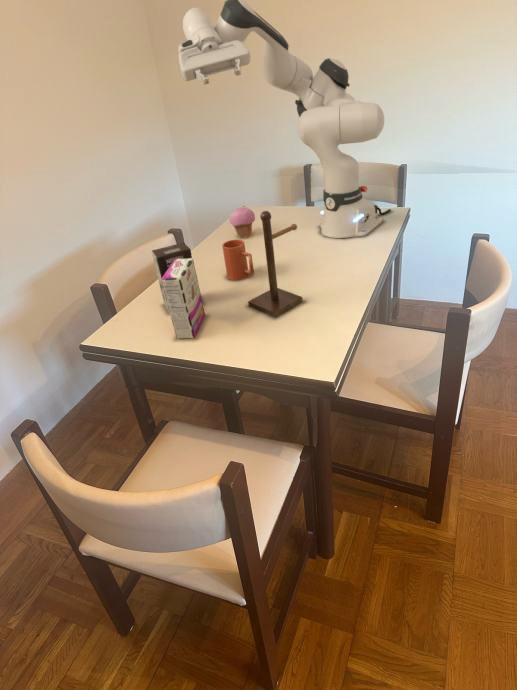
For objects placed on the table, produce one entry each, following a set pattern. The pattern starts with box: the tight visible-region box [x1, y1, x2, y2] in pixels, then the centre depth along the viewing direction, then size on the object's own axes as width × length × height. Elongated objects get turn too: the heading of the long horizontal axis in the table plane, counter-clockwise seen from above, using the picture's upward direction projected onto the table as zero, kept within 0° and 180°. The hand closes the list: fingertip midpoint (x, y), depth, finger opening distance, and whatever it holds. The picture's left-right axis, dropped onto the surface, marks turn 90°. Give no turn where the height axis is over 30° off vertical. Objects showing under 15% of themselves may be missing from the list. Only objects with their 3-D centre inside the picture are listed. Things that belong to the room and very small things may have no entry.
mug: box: [221, 239, 255, 281], centre depth 140 cm, size 10×6×10 cm, turn 43°
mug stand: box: [247, 210, 303, 318], centre depth 121 cm, size 15×10×25 cm
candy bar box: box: [161, 257, 207, 340], centre depth 117 cm, size 11×5×16 cm, turn 171°
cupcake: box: [228, 206, 256, 238], centre depth 168 cm, size 9×9×10 cm
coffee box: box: [151, 242, 193, 314], centre depth 128 cm, size 9×6×16 cm
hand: (222, 77), depth 134 cm, fingers open, 8 cm apart
